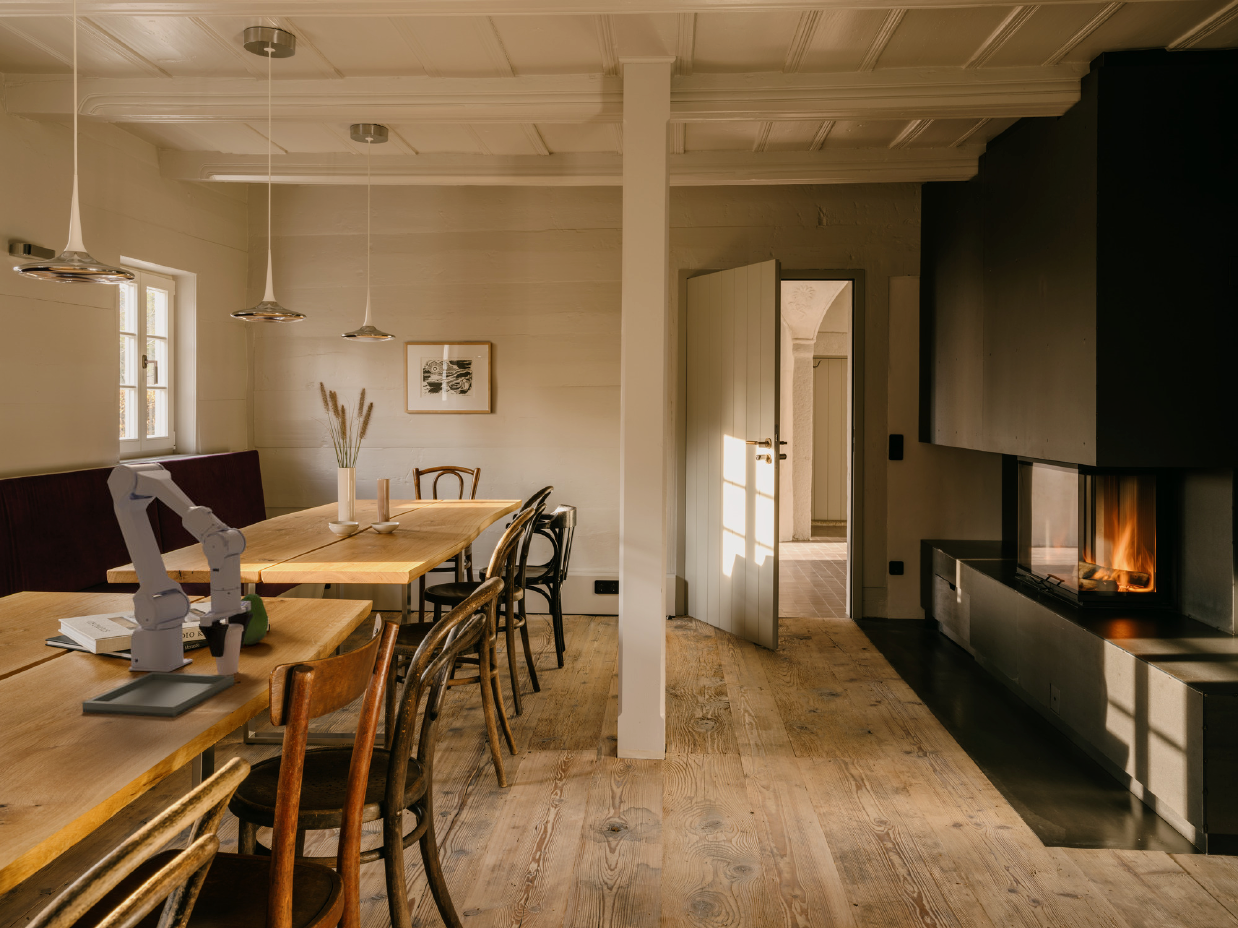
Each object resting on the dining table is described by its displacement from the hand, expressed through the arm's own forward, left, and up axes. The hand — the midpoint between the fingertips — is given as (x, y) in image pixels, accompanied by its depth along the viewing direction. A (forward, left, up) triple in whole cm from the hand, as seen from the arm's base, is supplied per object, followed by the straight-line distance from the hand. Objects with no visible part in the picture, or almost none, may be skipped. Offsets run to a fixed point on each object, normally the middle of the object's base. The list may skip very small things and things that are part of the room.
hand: (227, 651), depth 170 cm
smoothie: (0, 0, -5) cm, 5 cm away
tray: (-3, -16, -4) cm, 17 cm away
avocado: (-8, +21, -5) cm, 23 cm away
